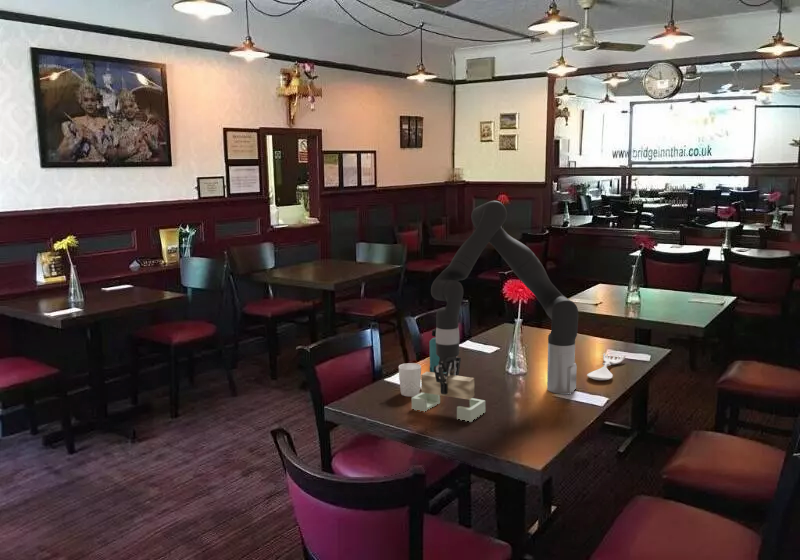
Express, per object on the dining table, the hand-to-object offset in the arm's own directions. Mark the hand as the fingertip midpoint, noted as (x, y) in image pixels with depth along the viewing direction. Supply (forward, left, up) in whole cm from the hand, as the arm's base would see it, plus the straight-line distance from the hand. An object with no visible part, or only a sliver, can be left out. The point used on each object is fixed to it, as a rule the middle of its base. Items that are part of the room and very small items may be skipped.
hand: (447, 391), depth 216 cm
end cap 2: (-9, 0, -7) cm, 11 cm away
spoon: (-31, -67, -7) cm, 75 cm away
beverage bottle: (+18, -24, -7) cm, 31 cm away
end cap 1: (+8, 0, -7) cm, 11 cm away
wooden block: (0, 0, -1) cm, 1 cm away
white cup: (+20, -8, -7) cm, 22 cm away
